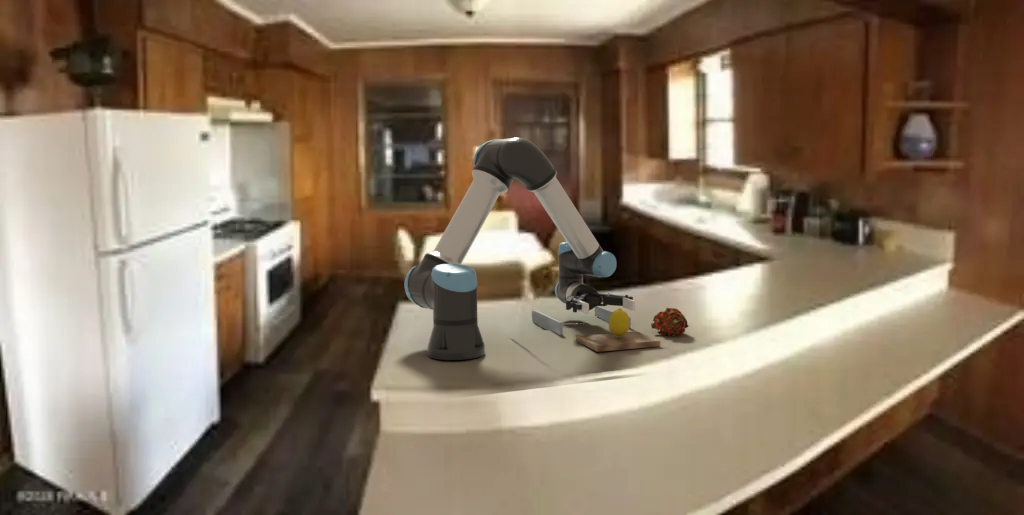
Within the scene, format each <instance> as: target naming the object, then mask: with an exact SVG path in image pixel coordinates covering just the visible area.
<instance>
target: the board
mask: <svg viewBox="0 0 1024 515" xmlns="http://www.w3.org/2000/svg"><path fill="white" fill-rule="evenodd" d="M576 342H578V343H579V344H582V345H583V346H585V347H587V348H589V349H590V350H593V351H595V352H597V353H598V352H599V353H600V352H609V351H612V352H613V351H620V350H621V351H622V350H633V349H644V348H656V347H661V340H660V339H657V338H655V337H652V336H650V335H647V334H645V333H642V332H640V331H637V330H636V331H627V333H626V334H624V335H622V336H621V337H620V338H617V337H616V335H614V334H613V333H612V332H611V333H609V332H608V333H599V334H598V333H597V334H586V335H576Z"/></svg>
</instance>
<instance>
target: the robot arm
mask: <svg viewBox="0 0 1024 515" xmlns="http://www.w3.org/2000/svg"><path fill="white" fill-rule="evenodd" d="M473 164H474V165H473V167H474V168H473V169H472V171H471V175H472V182H471V183H470V185H469V187H468V189H467V191H466V193H465V195H464V196H463V198H462V199H461V202H460V203H459V205H458V206H457V208H456V210H455V212H454V214H453V215H452V217H451V219H450V221H449V223H448V224H447V226H446V228H445V229H444V231H443V233H442V235H441V236H440V239H439V241H438V243H437V244H436V246H435V248H434V249H433V250H432V251H428V252H426V253H425V254H424V256H423V258H422V260H421V261H420V263H419V264H418V265H415V266H412V267H411V268H410V269H409V271H408V272H407V274H406V276H405V279H404V283H403V284H404V292H405V294H406V296H407V298H408V300H409V301H410V302H412V303H413V304H415V305H416V306H418V307H419V308H423V309H428V310H432V315H433V316H432V318H433V319H432V320H433V325H432V330H431V334H430V338H429V341H428V343H427V357H429V358H432V359H435V360H444V361H459V360H460V361H462V360H463V361H464V360H471V359H476V358H480V357H482V356H484V355H485V353H486V346H485V342H484V340H483V337H482V334H481V330H480V328H479V325H478V278H477V272H476V271H475V269H474V268H473V267H471V266H469V265H465V264H462V263H463V262H464V260H465V258H466V256H467V254H468V253H469V250H470V249H471V247H472V245H473V244H474V242H475V240H476V238H477V236H478V234H479V233H480V231H481V229H482V227H483V225H484V224H485V222H486V219H487V218H488V216H489V215H490V212H491V211H492V209H493V208H494V206H495V204H496V202H497V199H498V198H499V197H500V195H503V194H506V193H508V191H509V189H510V187H511V185H512V184H513V182H514V180H516V181H518V182H520V183H522V184H523V185H524V187H525V188H526V190H527V191H528V192H531V193H532V192H533V194H534V195H535V196H536V198H537V200H538V202H540V204H541V205H542V207H543V209H544V210H545V212H546V213H547V215H548V216H549V218H550V220H552V222H553V223H554V225H555V227H556V228H557V230H558V231H559V232H560V234H561V236H562V237H563V238H564V240H565V241H564V242H563V241H562V242H561V243H559V244H558V254H557V259H558V282H557V283H556V285H555V287H554V293H555V296H556V298H557V299H558V301H560V302H562V303H563V304H565V310H567V311H570V310H571V309H572V312H573V313H578V312H581V313H583V314H587V315H589V314H590V311H592V310H593V309H595V307H597V306H601V307H606V306H615V307H616V306H619V307H622V308H624V309H627V310H629V311H633V312H635V311H636V300H634V297H633V296H629V295H628V294H625V295H622V294H621V295H619V294H613V293H609V292H608V293H599V292H598V291H597V289H596V288H594V287H593V286H592V285H588V284H586V283H584V275H585V276H591V277H597V278H608V277H610V276H612V275H613V274H614V273H615V271H616V269H617V258H616V256H615V255H614V254H613V253H612V252H609V251H606V250H603V248H602V247H601V245H600V243H599V242H598V241H597V239H596V237H595V236H594V234H593V233H592V231H591V230H590V228H589V226H588V225H587V223H586V222H585V221H584V218H583V217H582V216H581V214H580V213H579V211H578V209H577V208H576V206H575V205H574V203H573V202H572V200H571V199H570V197H569V195H568V194H567V192H566V190H565V189H564V188H563V186H562V185H561V183H560V181H559V180H558V179H557V174H558V172H557V170H556V168H555V167H554V165H553V164H552V162H551V161H550V159H549V158H548V157H547V155H546V154H545V153H544V152H543V151H542V150H541V148H539V147H538V146H537V145H536V144H535V143H534V142H532V141H530V140H529V139H527V138H523V137H511V138H504V139H503V138H500V139H499V138H495V139H492V140H488V141H485V142H484V143H483V144H480V145H479V147H478V148H477V150H476V152H475V153H474V157H473Z"/></svg>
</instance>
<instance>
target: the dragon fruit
mask: <svg viewBox="0 0 1024 515" xmlns="http://www.w3.org/2000/svg"><path fill="white" fill-rule="evenodd" d="M652 321H653V322H651V323H650V326H651V329H655V330H657V331H659V333H660V335H661V336H666V335H668V336H669V337H675V336H679V335H682V334H684V333H685V332H686V329H688V327H689V324H688V320H687V318H686V317H685V315H684V314H683V313H682V312H681V311H680V310H679V309H678V308H674V307H666V308H665V310H664V311H663V310H662V311H659V312H658V313H657V314H655V315H654V316H653V320H652Z"/></svg>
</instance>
